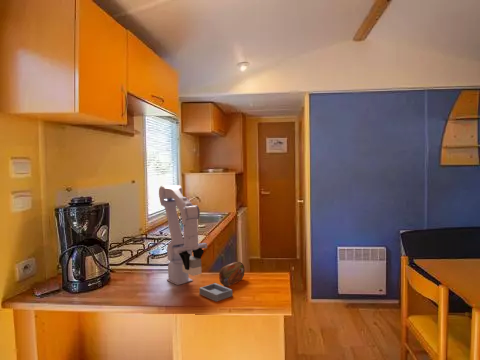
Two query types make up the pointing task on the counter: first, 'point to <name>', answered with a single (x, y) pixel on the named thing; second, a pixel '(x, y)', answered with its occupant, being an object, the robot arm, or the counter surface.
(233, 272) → the tin
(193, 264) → the block
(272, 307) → the counter surface
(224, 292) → the grey rectangular tray
